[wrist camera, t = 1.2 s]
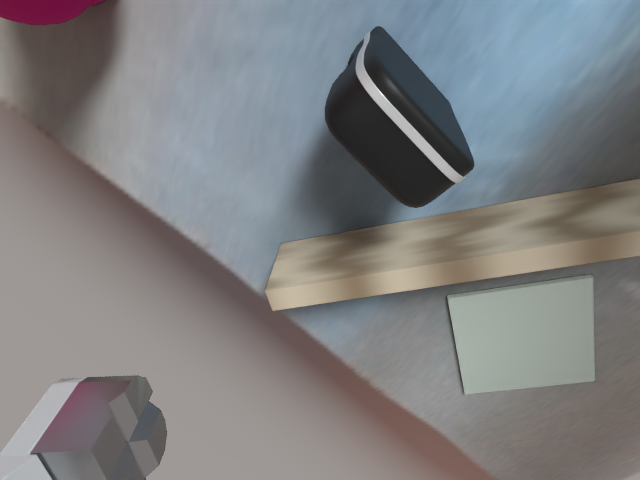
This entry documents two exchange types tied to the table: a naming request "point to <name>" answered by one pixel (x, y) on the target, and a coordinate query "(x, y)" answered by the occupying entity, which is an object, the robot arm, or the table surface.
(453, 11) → the table surface
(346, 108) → the battery charger
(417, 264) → the wooden plank
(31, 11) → the pepper mill
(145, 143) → the table surface
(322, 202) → the table surface
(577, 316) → the mat
